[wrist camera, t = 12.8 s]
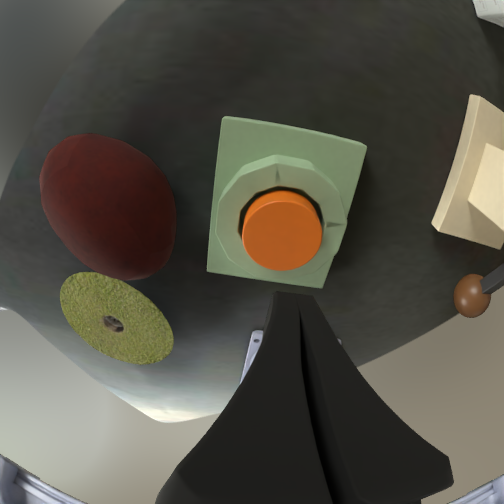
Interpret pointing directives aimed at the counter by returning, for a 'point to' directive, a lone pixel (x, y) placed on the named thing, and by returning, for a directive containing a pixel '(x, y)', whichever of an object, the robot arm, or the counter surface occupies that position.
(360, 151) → the control block
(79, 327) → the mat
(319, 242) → the button
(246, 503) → the robot arm
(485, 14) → the white packaging box
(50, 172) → the potato
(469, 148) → the bracket
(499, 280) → the lever
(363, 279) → the counter surface
